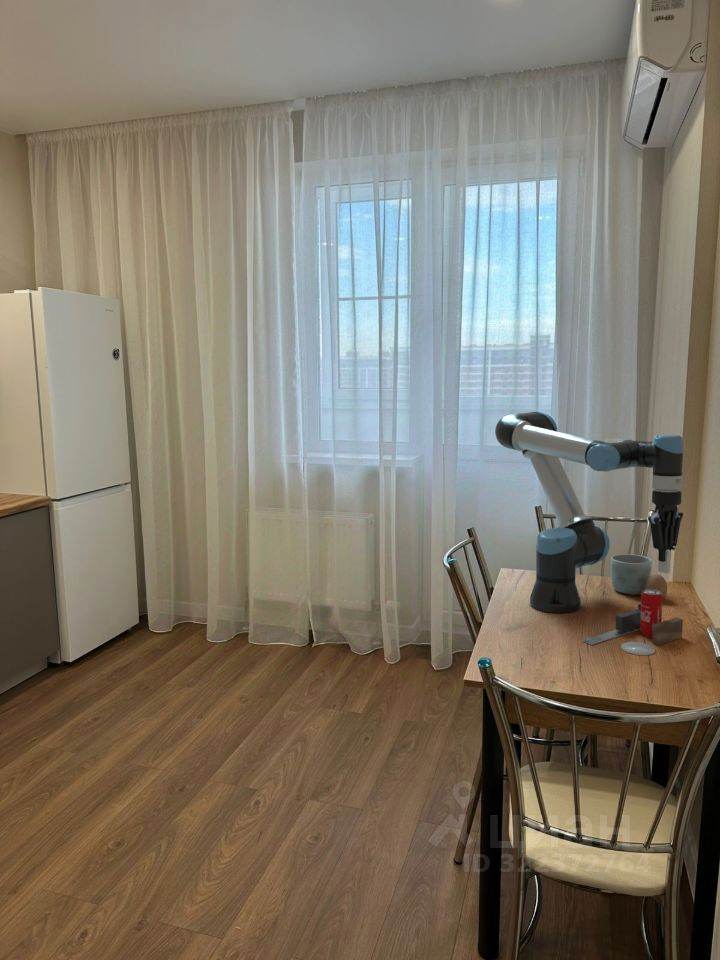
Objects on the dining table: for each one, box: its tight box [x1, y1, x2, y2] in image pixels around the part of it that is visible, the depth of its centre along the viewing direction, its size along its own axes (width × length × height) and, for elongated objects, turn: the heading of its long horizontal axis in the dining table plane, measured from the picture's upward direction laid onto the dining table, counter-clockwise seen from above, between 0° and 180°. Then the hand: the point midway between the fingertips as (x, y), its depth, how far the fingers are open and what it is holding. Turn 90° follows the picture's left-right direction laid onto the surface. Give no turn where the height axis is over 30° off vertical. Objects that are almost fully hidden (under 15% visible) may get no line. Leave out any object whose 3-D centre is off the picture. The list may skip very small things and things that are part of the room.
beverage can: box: [640, 589, 663, 639], centre depth 179 cm, size 5×5×12 cm
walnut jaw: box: [651, 617, 684, 646], centre depth 175 cm, size 2×10×5 cm, turn 122°
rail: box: [581, 626, 640, 646], centre depth 181 cm, size 3×25×1 cm, turn 122°
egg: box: [645, 573, 668, 599], centre depth 209 cm, size 6×6×8 cm
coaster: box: [621, 641, 656, 656], centre depth 170 cm, size 8×8×1 cm
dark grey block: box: [615, 603, 641, 632], centre depth 184 cm, size 3×12×5 cm, turn 122°
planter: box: [610, 553, 653, 596], centre depth 218 cm, size 12×12×11 cm
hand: (664, 571), depth 189 cm, fingers closed
